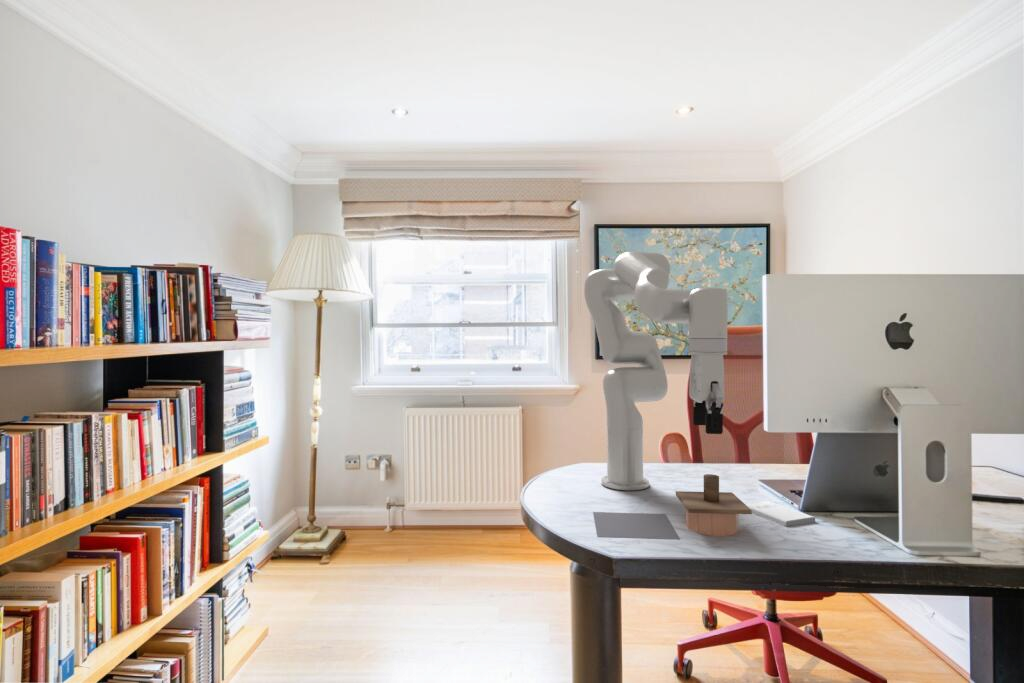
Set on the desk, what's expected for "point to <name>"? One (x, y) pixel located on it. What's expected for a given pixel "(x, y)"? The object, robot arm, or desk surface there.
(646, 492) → the desk surface
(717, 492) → the lid
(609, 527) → the mat
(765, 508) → the external hard drive
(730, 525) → the bowl
